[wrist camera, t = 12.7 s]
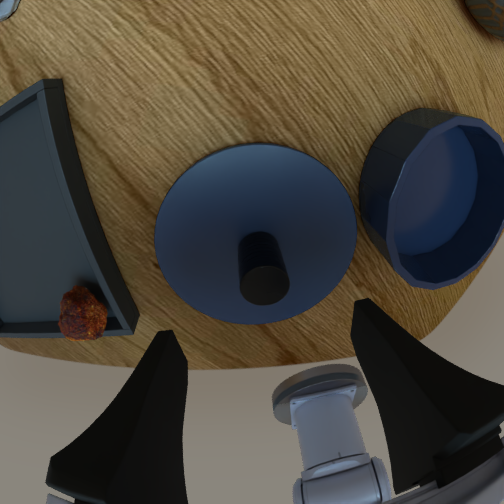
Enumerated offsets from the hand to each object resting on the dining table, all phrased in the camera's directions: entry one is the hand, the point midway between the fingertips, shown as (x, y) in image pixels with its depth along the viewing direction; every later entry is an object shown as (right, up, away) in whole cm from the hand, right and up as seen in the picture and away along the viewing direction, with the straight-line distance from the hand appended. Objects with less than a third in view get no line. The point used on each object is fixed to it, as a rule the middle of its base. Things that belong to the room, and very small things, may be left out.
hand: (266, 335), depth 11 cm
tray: (-19, +4, +5) cm, 20 cm away
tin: (+11, +7, +5) cm, 15 cm away
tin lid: (0, +4, +6) cm, 7 cm away
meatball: (-12, 0, +7) cm, 14 cm away
